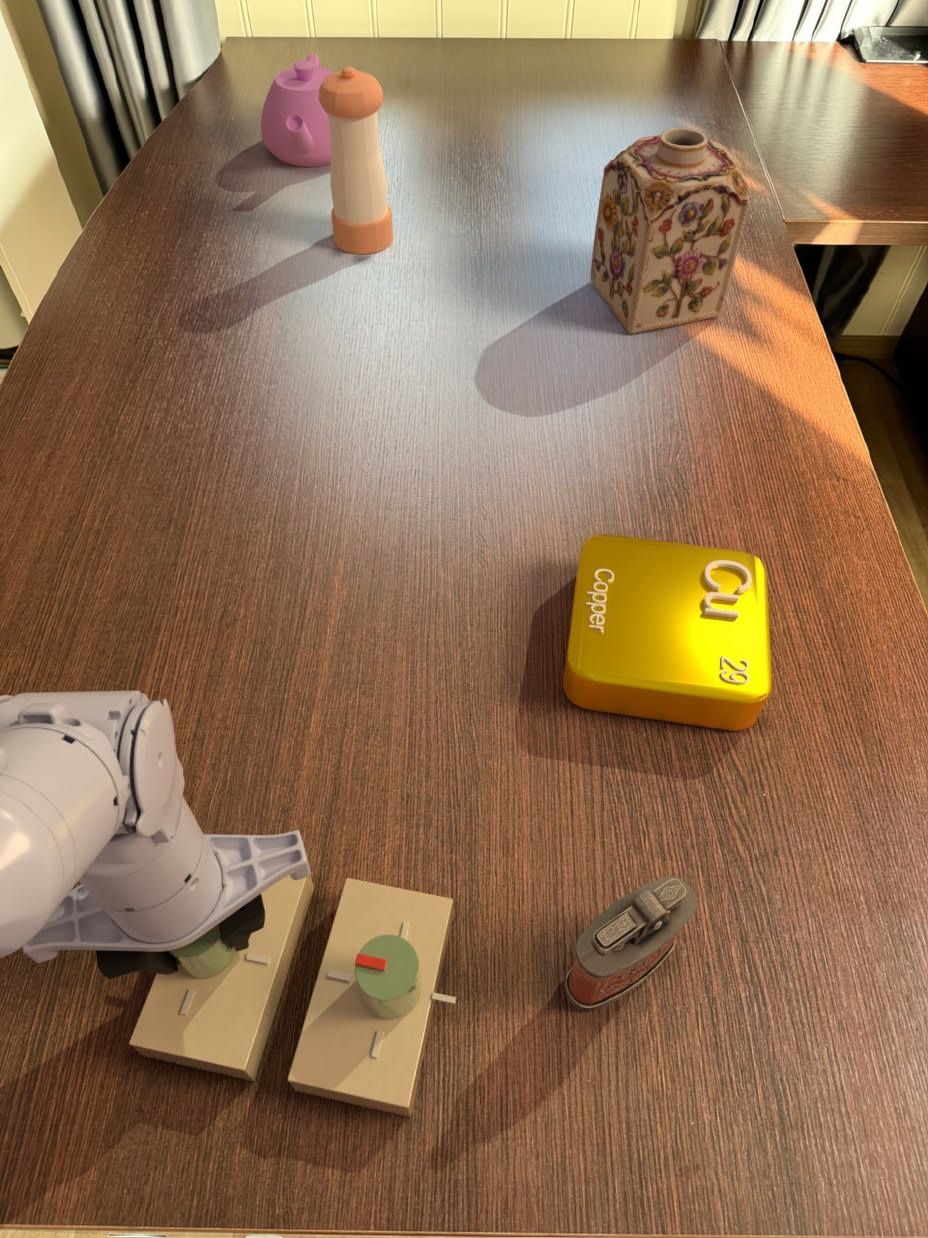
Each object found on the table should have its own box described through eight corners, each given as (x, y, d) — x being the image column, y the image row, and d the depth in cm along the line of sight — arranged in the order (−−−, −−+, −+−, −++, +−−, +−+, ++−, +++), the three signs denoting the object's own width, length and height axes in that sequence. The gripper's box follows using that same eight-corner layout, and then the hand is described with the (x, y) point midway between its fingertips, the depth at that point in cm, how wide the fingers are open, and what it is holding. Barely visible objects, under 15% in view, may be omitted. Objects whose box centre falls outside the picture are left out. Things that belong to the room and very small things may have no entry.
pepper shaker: (339, 221, 113) (321, 52, 98) (397, 224, 112) (387, 55, 97) (329, 252, 108) (307, 80, 93) (388, 256, 108) (376, 83, 93)
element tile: (577, 563, 78) (584, 524, 74) (753, 586, 76) (769, 548, 72) (559, 707, 69) (565, 672, 65) (758, 737, 67) (776, 702, 63)
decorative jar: (627, 337, 98) (655, 172, 84) (585, 281, 105) (605, 119, 90) (725, 318, 100) (768, 153, 86) (678, 263, 107) (711, 102, 93)
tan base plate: (254, 1081, 53) (243, 1070, 50) (121, 1051, 54) (104, 1038, 51) (314, 887, 60) (308, 868, 57) (196, 863, 61) (185, 844, 58)
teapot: (251, 184, 118) (235, 98, 110) (275, 117, 131) (262, 34, 122) (355, 186, 118) (347, 100, 110) (369, 118, 130) (363, 36, 122)
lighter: (650, 908, 59) (679, 845, 51) (685, 952, 57) (720, 894, 49) (552, 977, 56) (567, 922, 49) (585, 1025, 55) (606, 976, 47)
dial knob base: (434, 1123, 51) (433, 1113, 49) (294, 1091, 52) (286, 1080, 50) (474, 919, 59) (474, 901, 56) (350, 894, 60) (345, 876, 57)
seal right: (427, 963, 54) (425, 940, 51) (413, 1025, 52) (410, 1005, 48) (370, 950, 54) (364, 926, 51) (353, 1012, 52) (346, 991, 49)
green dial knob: (242, 967, 54) (227, 944, 50) (182, 987, 53) (163, 965, 50) (232, 911, 56) (217, 885, 52) (174, 929, 55) (155, 904, 52)
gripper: (274, 743, 47) (309, 848, 58) (-17, 826, 44) (77, 921, 55) (304, 864, 43) (335, 954, 54) (-14, 965, 40) (86, 1038, 51)
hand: (206, 945), depth 54 cm, fingers closed on green dial knob, 3 cm apart
